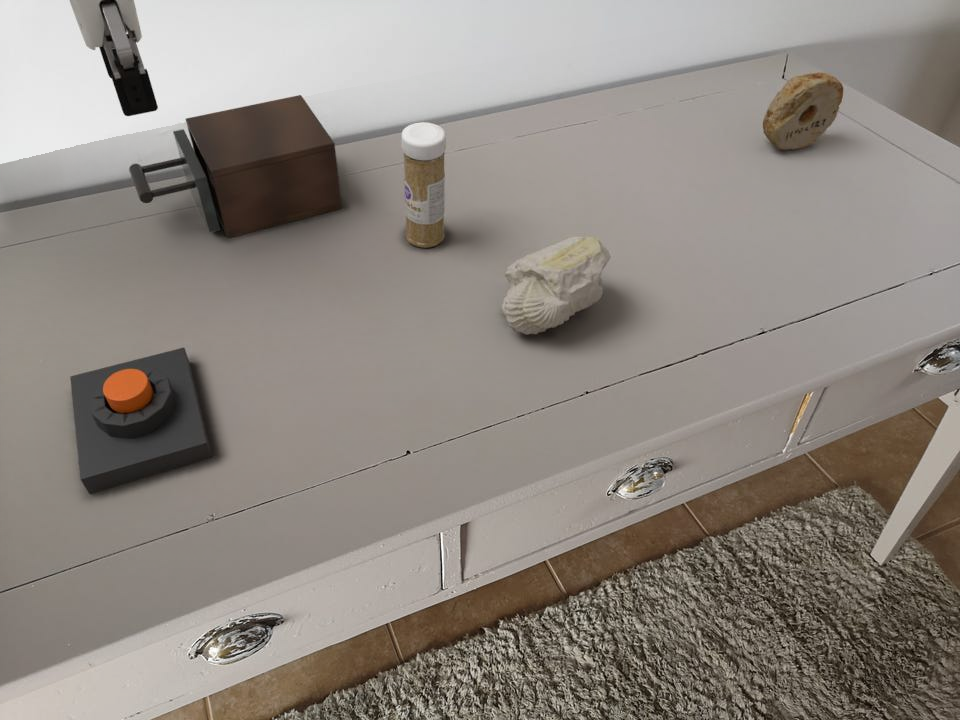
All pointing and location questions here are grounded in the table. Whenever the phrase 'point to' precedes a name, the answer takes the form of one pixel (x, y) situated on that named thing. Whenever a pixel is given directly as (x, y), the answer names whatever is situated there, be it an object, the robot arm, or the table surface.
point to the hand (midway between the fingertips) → (132, 92)
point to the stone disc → (802, 110)
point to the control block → (138, 424)
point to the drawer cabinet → (266, 164)
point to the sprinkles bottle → (424, 183)
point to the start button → (128, 390)
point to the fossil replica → (554, 284)
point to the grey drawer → (194, 183)
